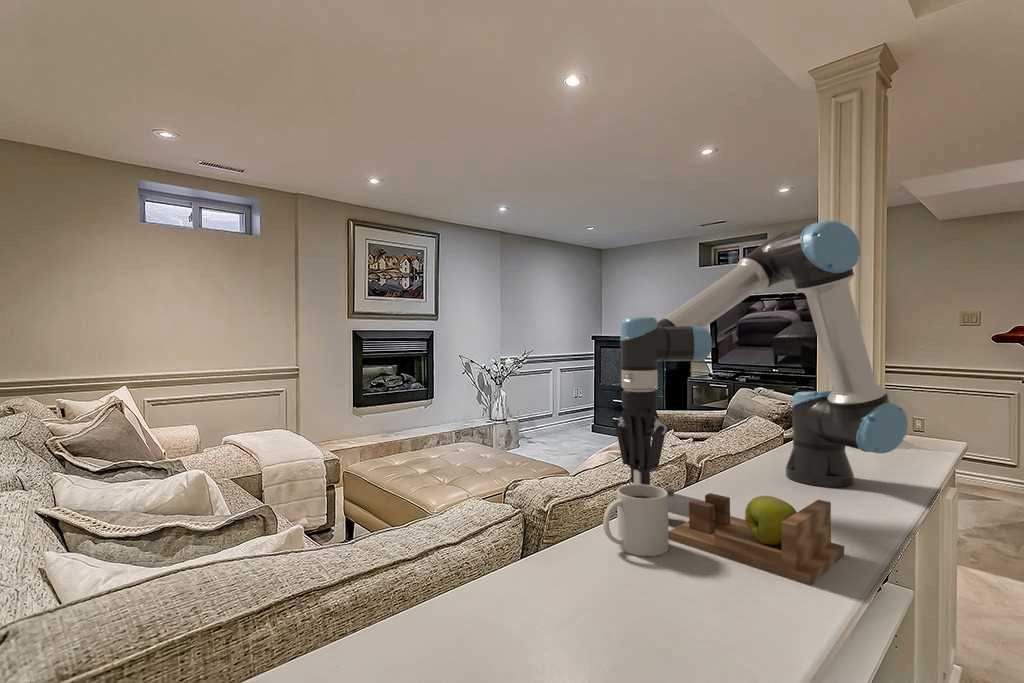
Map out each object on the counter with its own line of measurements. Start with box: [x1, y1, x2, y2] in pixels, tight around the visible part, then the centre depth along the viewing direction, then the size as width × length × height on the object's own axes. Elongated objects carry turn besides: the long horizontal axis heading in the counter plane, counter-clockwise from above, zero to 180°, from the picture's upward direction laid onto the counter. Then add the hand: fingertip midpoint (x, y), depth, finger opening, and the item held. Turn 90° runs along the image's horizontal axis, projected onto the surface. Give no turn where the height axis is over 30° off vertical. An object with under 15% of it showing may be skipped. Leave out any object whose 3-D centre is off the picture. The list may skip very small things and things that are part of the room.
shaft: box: [663, 487, 714, 519], centre depth 100 cm, size 4×10×4 cm, turn 41°
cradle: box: [668, 492, 845, 586], centre depth 91 cm, size 16×24×8 cm, turn 41°
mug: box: [602, 483, 670, 557], centre depth 91 cm, size 11×10×10 cm
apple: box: [744, 495, 798, 545], centre depth 88 cm, size 8×9×8 cm
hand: (640, 499), depth 108 cm, fingers closed
